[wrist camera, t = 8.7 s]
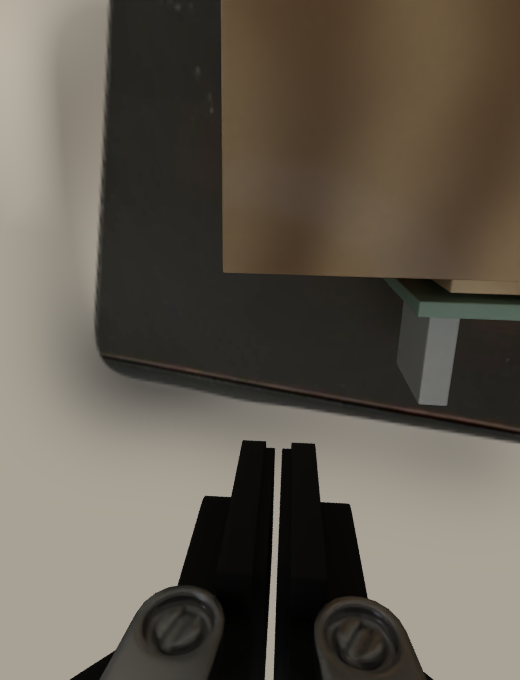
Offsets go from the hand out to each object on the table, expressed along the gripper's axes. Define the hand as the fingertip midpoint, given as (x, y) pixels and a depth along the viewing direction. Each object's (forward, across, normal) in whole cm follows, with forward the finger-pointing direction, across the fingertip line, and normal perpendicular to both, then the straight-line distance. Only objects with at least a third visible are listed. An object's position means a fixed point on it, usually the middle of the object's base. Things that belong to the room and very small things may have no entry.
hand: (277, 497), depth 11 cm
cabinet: (+17, -6, -8) cm, 20 cm away
